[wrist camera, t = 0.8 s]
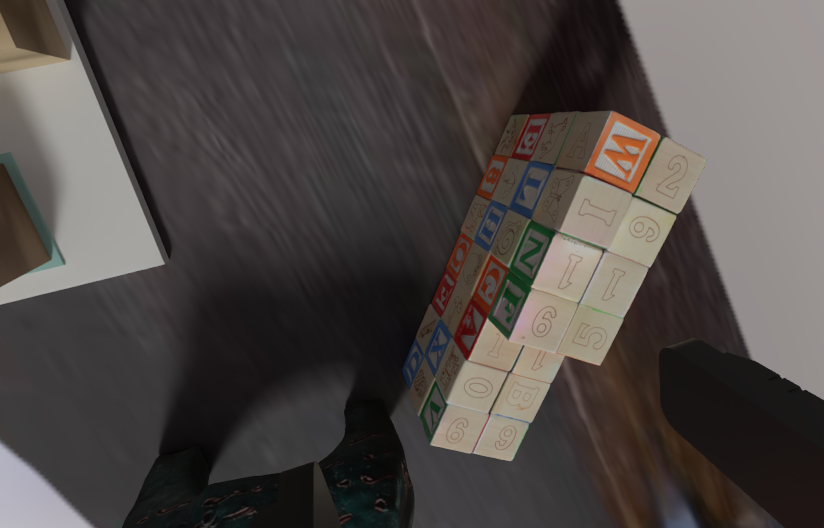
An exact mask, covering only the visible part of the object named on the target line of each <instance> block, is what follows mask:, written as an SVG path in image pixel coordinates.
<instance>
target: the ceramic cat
mask: <svg viewBox="0 0 824 528" xmlns="http://www.w3.org/2000/svg"><path fill="white" fill-rule="evenodd" d="M344 414H345V422H346V427H345V435H344V438H343V440H342V441H341V442H340V444H339V445H338V446H337V447H336V448H335V450H334V451H333V452H332V453H331V454H329V455H328V456H327V457H326V458H325V459H323V460H322V461H320V462H319V463H318V464H319V466H320V468H321V471H322V474H323V476H324V479H325V481H326V484H327V487H328V489H329V492H330V494H331V497H332V500H333V502H334V505H335V507H336V510H337V513H338V516H339V519H340V523H341V528H411V527H412V523H413V516H414V491H413V486H412V483H411V480H410V477H409V474H408V469H407V465H406V460H405V454H404V450H403V447H402V444H401V442H400V439H399V437H398V434H397V432H396V430H395V428H394V425H393V423H392V421H391V419H390V417H389V415H388V413H387V410H386V408H385V406H384V403H383V401H382V400H380V399H378V400H370V401H364V402H360V403H357V404H354V405H352V406H350V407H348V408H346V409H345V410H344ZM280 474H281V473H276V474H269V475H263V476H252V477H246V478H240V479H235V480H230V481H225V482H219V483H214V484H211V485H208V481H209V469H208V465H207V462H206V460H205V458H204V456H203V454H202V452H201V449H200V444H199V445H196V446H193V447H190V448H188V449H186V450H184V451H181V452H177V453H172V454H166V455H162V456H159V457H158V458H157V459H156V460H155V462H154V464H153V466H152V468H151V470H150V472H149V473H148V475H147V477H146V479H145V481H144V484H143V486H142V488H141V491H140V493H139V495H138V498H137V500H136V503H135V505H134V507H133V508H132V510H131V511H130V513H129V514H128V516H127V517H126V520H125V522H124V524H123V527H122V528H249V526H250V525H251V523H252V521H253V519H254V517H255V515H256V514H257V512H258V510H259V508H260V507H263V506H266V505H269V504H272V503H275V502H277V496H278V486H279V477H280Z"/></svg>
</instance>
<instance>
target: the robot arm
mask: <svg viewBox="0 0 824 528" xmlns="http://www.w3.org/2000/svg"><path fill="white" fill-rule="evenodd" d="M659 373H660V401H661V407H662V410H663V413H664V415H665V417H666V419H667V421H668V422H669V424H670V425H671V426H672V427H673V428H674V429H675V430H676V431H677V432H678V433H679V434H680V435H681V436H682V437H683V438H684V439H686V440H687V441H688V442H689V443H690V444H691V445H692V446H693V447H695V448H696V449H697V450H698V451H699V452H700V453H701V454H702V455H704V456H705V457H706V458H707V459H708V460H709V461H710V462H711V463H713V464H714V465H715V466H716V467H717V468H718V469H719V470H720V471H722V472H723V473H724V474H725V475H726V476H727V477H728V478H729V479H731V480H732V481H733V482H734V483H735V484H736V485H737V486H738V487H740V488H741V489H742V490H743V491H744V492H745V493H746V494H747V495H749V496H750V497H751V498H752V499H753V500H754V501H755V502H757V503H758V504H759V505H760V506H761V507H762V508H763V509H764V510H766V511H767V512H768V513H769V514H770V515H771V516H772V517H773V518H775V519H776V520H777V521H778V522H779V523H780V524H781V525H782V526H784V527H785V528H824V400H822V399H821V398H819V397H817V396H815V395H814V394H812V393H810V392H808V391H807V390H804V391H803V390H801V388H800V387H799V386H798V385H796V384H794V383H793V382H791V381H789V380H787V379H786V378H783V379H782V378H781V377H780V375H779V374H776V373H775V372H773V371H772V370H770V369H768V368H766V367H765V366H763V365H761V364H759V363H758V362H756V361H753V360H750V359H746V358H743V357H740V356H737V355H734V354H731V353H722V352H720V351H719V350H717V349H715V348H714V347H712V346H710V345H708V344H707V343H705V342H703V341H702V340H699V339H690V340H687V341H684V342H681V343H678V344H675V345H672V346H668V347H665V348H663V349H662V350H661V351H660V354H659ZM249 528H341V523H340V519H339V516H338V513H337V510H336V507H335V505H334V502H333V500H332V497H331V494H330V492H329V489H328V487H327V484H326V481H325V479H324V476H323V474H322V471H321V468H320V466H319V464H318V463H317V461H314V462H311V463H308V464H305V465H302V466H299V467H296V468H293V469H290V470H287V471H284V472H281V474H280V477H279V486H278V496H277V502H275V503H272V504H269V505H266V506H263V507H260V508H259V510H258V512H257V514H256V515H255V517H254V519H253V521H252V523H251V525H250V526H249Z"/></svg>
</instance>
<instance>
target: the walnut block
mask: <svg viewBox="0 0 824 528" xmlns="http://www.w3.org/2000/svg"><path fill="white" fill-rule="evenodd" d="M50 260H51V258H50V256H49V254H48V252H47V250H46V248H45V246H44V244H43V242H42V240H41V238H40V236H39V234H38V232H37V230H36V228H35V226H34V224H33V222H32V220H31V218H30V216H29V214H28V212H27V210H26V208H25V206H24V204H23V202H22V200H21V198H20V196H19V194H18V192H17V190H16V188H15V186H14V184H13V182H12V180H11V178H10V176H9V174H8V172H7V170H6V168H5V166H4V164H3V163H0V287H2V286H4V285H5V284H7V283H9V282H11V281H13V280H15V279H17V278H19V277H20V276H22V275H24V274H26V273H28V272H30V271H32V270H33V269H35V268H37V267H39V266H41V265H43V264H45V263H47V262H48V261H50Z"/></svg>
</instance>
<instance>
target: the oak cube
mask: <svg viewBox="0 0 824 528" xmlns="http://www.w3.org/2000/svg"><path fill="white" fill-rule="evenodd" d="M65 61H71V60H70V58H69V55H68V53H67V50H66V48H65V46H64V43H63V41H62V39H61V36H60V34H59V31H58V29H57V27H56V24H55V22H54V19H53V17H52V15H51V12H50V10H49V7H48V5H47V3H46V0H0V74H1V73H7V72H12V71H17V70H23V69H28V68H33V67H39V66H44V65H49V64H55V63H60V62H65Z"/></svg>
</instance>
